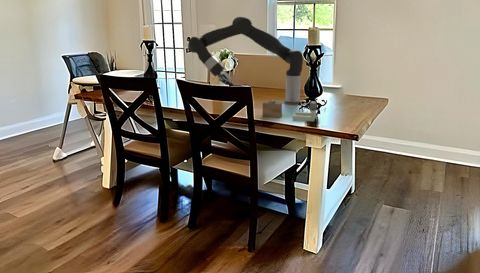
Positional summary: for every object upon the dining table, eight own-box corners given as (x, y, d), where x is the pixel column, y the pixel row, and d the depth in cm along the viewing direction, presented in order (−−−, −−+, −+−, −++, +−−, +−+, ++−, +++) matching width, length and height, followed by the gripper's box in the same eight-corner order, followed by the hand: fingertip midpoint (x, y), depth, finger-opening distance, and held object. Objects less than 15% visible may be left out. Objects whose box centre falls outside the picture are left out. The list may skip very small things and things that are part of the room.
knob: (310, 108, 227) (310, 101, 225) (316, 109, 226) (317, 101, 224) (309, 110, 223) (309, 102, 222) (315, 110, 222) (316, 102, 221)
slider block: (264, 115, 238) (264, 99, 236) (281, 116, 236) (282, 100, 233) (262, 117, 234) (262, 101, 231) (279, 118, 231) (280, 102, 228)
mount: (295, 115, 236) (295, 105, 234) (315, 117, 232) (316, 106, 231) (292, 120, 227) (293, 109, 225) (313, 121, 224) (314, 110, 222)
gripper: (214, 63, 229) (235, 86, 229) (222, 60, 241) (242, 82, 241) (205, 72, 232) (226, 95, 232) (213, 69, 244) (233, 90, 244)
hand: (234, 88), depth 236 cm, fingers closed
